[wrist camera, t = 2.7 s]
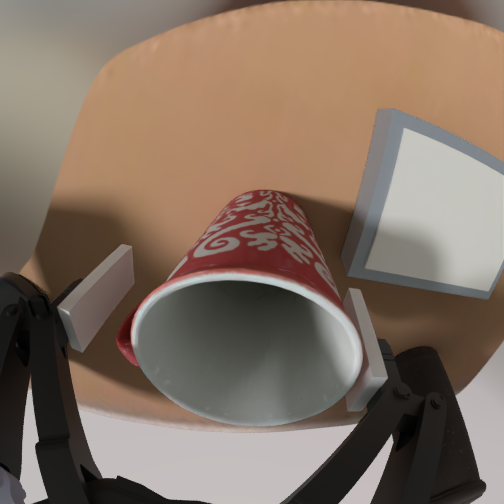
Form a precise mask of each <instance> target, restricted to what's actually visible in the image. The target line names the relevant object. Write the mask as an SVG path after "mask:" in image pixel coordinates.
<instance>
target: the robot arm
mask: <svg viewBox="0 0 504 504" xmlns="http://www.w3.org/2000/svg"><path fill="white" fill-rule="evenodd" d="M134 284H135V278H134V266H133V251H132V246H129V245H124V244H121V245H120V246H119V247H118V248H117V249H116V250H115V251H114V252H112V253H111V254H110V255H109V256H108V257H107V258H106V259H105V260H104V261H103V262H102V263H101V264H100V265H98V266H97V267H96V268H95V269H94V270H93V271H92V272H91V273H90V274H89V275H88V276H87V277H86V278H85V279H79V280H77V281H75V282H73V283H72V284H71V285H70V286H69V287H68V288H67V289H66V290H65V291H64V292H63V293H62V294H61V295H60V296H59V297H58V298H57V299H56V300H55V301H54V302H53V303H52V304H51V305H50V301H49V298H48V296H47V295H46V294H43V293H39V292H38V291H37V290H36V289H35V288H34V287H33V286H32V285H31V284H30V283H29V282H28V281H27V280H25V279H24V278H22V277H21V276H19V275H17V274H15V273H12V272H6V273H4V274H3V275H2V276H0V504H25V503H24V499H25V497H26V493H25V491H24V489H23V488H22V485H21V483H20V482H19V480H20V475H21V464H22V439H23V425H24V415H25V406H26V399H27V392H28V386H29V380H30V378H31V385H32V396H33V405H34V413H35V419H36V426H37V432H38V437H39V442H38V443H36V445H35V449H36V455H37V460H38V464H39V468H40V472H41V476H42V479H43V483H44V486H45V489H46V492H47V495H48V498H47V499H45V500H42V501H39V502H36V503H33V504H211V503H206V502H201V501H188V500H170V499H166V498H164V497H162V496H161V495H159V494H157V493H155V492H154V491H152V490H150V489H148V488H147V487H145V486H143V485H141V484H139V483H136V482H133V481H131V480H128V479H126V478H123V477H121V476H117V478H116V479H114V478H102V476H101V473H100V471H99V470H98V468H97V466H96V464H95V463H94V461H93V458H92V455H91V452H90V449H89V446H88V443H87V440H86V437H85V433H84V430H83V426H82V423H81V419H80V416H79V412H78V407H77V403H76V399H75V394H74V389H73V384H72V379H71V374H70V368H69V362H68V355H67V349H66V346H67V341H68V340H69V342H70V345H71V348H73V349H75V350H77V351H80V352H82V353H83V352H84V350H85V349H86V348H87V346H88V345H89V343H90V342H91V340H92V339H93V338H94V336H95V335H96V334H97V332H98V331H99V329H100V328H101V327H102V325H103V324H104V323H105V321H106V320H107V319H108V317H109V316H110V315H111V313H112V312H113V311H114V309H115V308H116V307H117V305H118V304H119V303H120V302H121V300H122V299H123V298H124V296H125V295H126V294H127V293H128V291H129V290H130V289H131V288H132V286H133V285H134ZM342 304H343V306H344V309H345V311H346V312H347V313H348V315H349V316H350V317H351V319H352V320H353V322H354V323H355V325H356V327H357V329H358V331H359V334H360V337H361V340H362V346H363V360H362V367H361V370H360V373H359V375H358V378H357V379H356V381H355V383H354V385H353V386H352V387H351V389H350V390H349V391H348V392H347V393H346V394H345V398H346V407H347V411H352V412H361V411H362V410H363V409H364V408H365V407H366V405H367V410H368V412H367V413H366V415H365V416H364V417H363V418H362V419H361V420H360V421H359V423H358V425H357V426H356V427H355V428H354V430H353V431H352V432H351V433H350V435H349V436H348V437H347V438H346V439H345V440H344V441H343V443H342V444H341V445H340V446H339V447H338V448H337V449H336V450H335V451H334V453H333V454H332V455H331V456H330V457H329V458H328V459H327V460H326V461H325V462H324V463H323V464H322V465H321V466H320V467H319V468H318V470H317V471H315V472H314V473H313V474H312V475H311V476H310V477H309V478H308V479H307V480H306V481H305V482H304V483H303V484H302V485H301V486H300V487H299V488H298V489H297V490H295V491H294V492H293V493H292V494H291V495H290V496H288V498H286V499H285V500H284V501H283V502H281V503H280V504H338V503H339V502H340V501H341V500H342V499H343V498H344V497H345V496H346V494H347V493H348V492H349V491H350V490H351V489H352V487H353V486H354V485H355V484H356V482H357V481H358V480H359V479H360V477H361V476H362V475H363V474H364V472H365V471H366V470H367V468H368V467H369V466H370V464H371V463H372V462H373V460H374V459H375V457H376V456H377V455H378V453H379V452H380V450H381V449H382V447H383V446H384V445H385V443H386V441H387V440H388V438H389V437H390V435H391V434H392V432H393V431H396V432H397V433H396V436H395V440H394V443H393V446H392V449H391V452H390V455H389V458H388V461H387V464H386V466H385V469H384V472H383V475H382V477H381V480H380V482H379V485H378V487H377V489H376V492H375V494H374V496H373V499H372V501H371V503H370V504H428V503H429V500H430V496H431V493H432V489H433V485H434V481H435V477H436V473H437V469H438V464H439V459H440V454H441V448H442V442H443V436H444V429H445V421H446V412H447V402H446V400H445V398H444V397H443V396H442V395H441V394H439V393H436V392H431V393H429V394H428V395H427V396H426V397H421V396H418V395H415V394H412V391H411V389H410V387H409V386H407V385H406V384H405V383H402V382H401V379H400V375H399V372H398V369H397V366H396V362H395V361H394V360H395V359H394V356H393V353H392V350H391V347H390V345H389V344H388V343H387V342H386V340H385V339H377V338H376V335H375V332H374V329H373V325H372V322H371V319H370V316H369V313H368V310H367V307H366V304H365V302H364V299H363V296H362V293H361V290H360V289H354V288H348V290H347V293H346V295H345V298H344V300H343V303H342Z"/></svg>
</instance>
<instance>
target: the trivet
mask: <svg viewBox="0 0 504 504" xmlns="http://www.w3.org/2000/svg"><path fill="white" fill-rule="evenodd" d="M340 258H341V261H342V263H343V266H344V269H345V271H346V274H347V276H348V277H354V278H360V279H366V280H372V281H378V282H383V283H389V284H395V285H401V286H407V287H413V288H419V289H425V290H431V291H437V292H443V293H449V294H455V295H461V296H468V297H474V298H480V299H486V300H488V299H489V297H490V295H491V294H492V292H493V290H494V288H495V286H496V284H497V282H498V280H499V278H500V276H501V274H502V272H503V269H504V162H502V161H501V160H499V159H497V158H496V157H494V156H492V155H491V154H489V153H487V152H486V151H484V150H482V149H480V148H479V147H477V146H475V145H473V144H471V143H470V142H468V141H466V140H464V139H462V138H460V137H458V136H456V135H454V134H452V133H450V132H448V131H446V130H444V129H442V128H440V127H437V126H435V125H433V124H431V123H428V122H426V121H424V120H421V119H419V118H417V117H414V116H412V115H409V114H407V113H404V112H401V111H399V110H396V109H393V108H391V109H378V110H377V115H376V120H375V125H374V130H373V135H372V140H371V145H370V149H369V153H368V158H367V162H366V166H365V170H364V175H363V179H362V183H361V186H360V190H359V194H358V198H357V202H356V205H355V209H354V212H353V216H352V219H351V223H350V226H349V230H348V233H347V236H346V240H345V243H344V246H343V249H342V252H341V256H340Z"/></svg>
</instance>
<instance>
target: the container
mask: <svg viewBox="0 0 504 504" xmlns="http://www.w3.org/2000/svg"><path fill="white" fill-rule="evenodd" d="M394 359H395V360H394V361H395V362H396V366H397V369H398V372H399V375H400V379H401V382H402V383H405V384H406V385H407V386H409V387H410V389H411V391H412V394H415V395H418V396H421V397H426V396H427V395H428V394H429V393H431V392H436V393H439V394H441V395H442V396H443V397H444V398H445V400H446V402H447V412H446V421H445V429H444V436H443V442H442V448H441V454H440V459H439V464H438V469H437V473H436V477H435V481H434V485H433V489H432V493H431V496H430V500H429V503H428V504H470V503H471V502H473V501H474V500H476V499H477V498H479V497H481V496H482V494H483V493H484V492H485V490H486V483H485V482H484V481H482V480H481V479H480V477H479V472H478V468H477V464H476V460H475V457H474V453H473V450H472V446H471V442H470V439H469V436H468V432H467V429H466V426H465V423H464V420H463V417H462V414H461V411H460V408H459V405H458V402H457V400H456V397H455V394H454V391H453V389H452V386H451V384H450V381H449V379H448V376H447V374H446V371H445V369H444V367H443V364H442V362H441V360H440V358H439V356H438V353H437V352H436V351H435V350H434V349H432V348H429V347H419V348H415V349H411V350H409V351H406V352H404V353H402V354H401V355H399V356H397V357H396V358H394ZM396 433H397V432H396V431H393V432H392V436H393V441H394V440H395V436H396Z"/></svg>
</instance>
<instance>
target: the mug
mask: <svg viewBox="0 0 504 504" xmlns="http://www.w3.org/2000/svg"><path fill="white" fill-rule="evenodd" d="M116 342H117V346H118V348H119V349H120V351H121V352H122V353H123V355H124V356H125V357H126V358H127V359H128V360H129V361H130V362H131V363H132V364H133V365H135V366H137V367H140V368H141V370H142V371H143V373H144V374H145V375H146V377H147V378H148V379H149V380H150V382H151V383H152V384H153V385H154V386H155V387H156V388H157V389H158V390H159V391H160V392H162V393H163V394H164V395H165V396H167V397H168V398H169V399H171V400H172V401H173V402H175V403H176V404H178V405H179V406H181V407H183V408H185V409H186V410H188V411H190V412H193V413H195V414H197V415H200V416H202V417H205V418H208V419H211V420H214V421H218V422H223V423H227V424H233V425H240V426H253V427H262V426H276V425H283V424H288V423H292V422H297V421H300V420H304V419H306V418H309V417H312V416H315V415H317V414H319V413H321V412H323V411H324V410H326V409H328V408H330V407H331V406H333V405H334V404H335V403H337V402H338V401H339V400H340V399H341V398H343V397H344V396H345V394H346V393H347V392H348V391H349V390H350V389H351V387H352V386H353V385H354V383H355V381H356V379H357V378H358V375H359V373H360V370H361V367H362V360H363V346H362V340H361V337H360V334H359V331H358V329H357V327H356V325H355V323H354V322H353V320H352V319H351V317H350V316H349V315H348V313H347V312H346V311H345V309H344V306H343V304H342V301H341V298H340V296H339V293H338V290H337V288H336V285H335V283H334V280H333V278H332V275H331V273H330V271H329V269H328V266H327V263H326V262H325V259H324V257H323V254H322V252H321V249H320V247H319V245H318V243H317V240H316V237H315V235H314V234H313V231H312V229H311V226H310V224H309V221H308V219H307V217H306V215H305V213H304V212H303V210H302V209H301V208H300V206H299V205H298V204H297V203H296V202H295V201H293V200H292V199H291V198H289V197H288V196H286V195H284V194H282V193H278V192H275V191H270V190H255V191H250V192H246V193H244V194H242V195H240V196H238V197H236V198H235V199H233V200H232V201H231V202H230V203H229V204H227V205H226V207H225V208H224V209H223V210H222V211H221V212H220V214H219V215H218V216H217V217H216V219H215V220H214V221H213V222H212V223H211V225H210V226H209V227H208V228H207V230H206V231H205V232H204V233H203V235H202V236H201V237H200V238H199V240H198V241H197V242H196V243H195V245H194V246H193V247H192V248H191V249H190V250H189V251H188V253H187V254H186V255H185V257H184V258H183V259H182V260H181V261H180V262H179V264H178V265H177V266H176V268H175V269H174V270H173V271H172V273H171V274H170V276H169V277H168V278H167V280H166V281H165V282H163V283H162V284H161V285H160V286H158V287H157V288H156V289H155V290H153V291H152V292H151V293H150V294H149V295H148V296H146V297H145V298H144V299H143V300H142V301H141V302H140V303H139V304H138V305H137V306H136V307H135V308H134V309H133V310H132V312H131V313H130V314H129V315H128V316H127V318H126V319H125V320H124V322H123V323H122V325H121V327H120V329H119V331H118V333H117V337H116Z"/></svg>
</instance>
